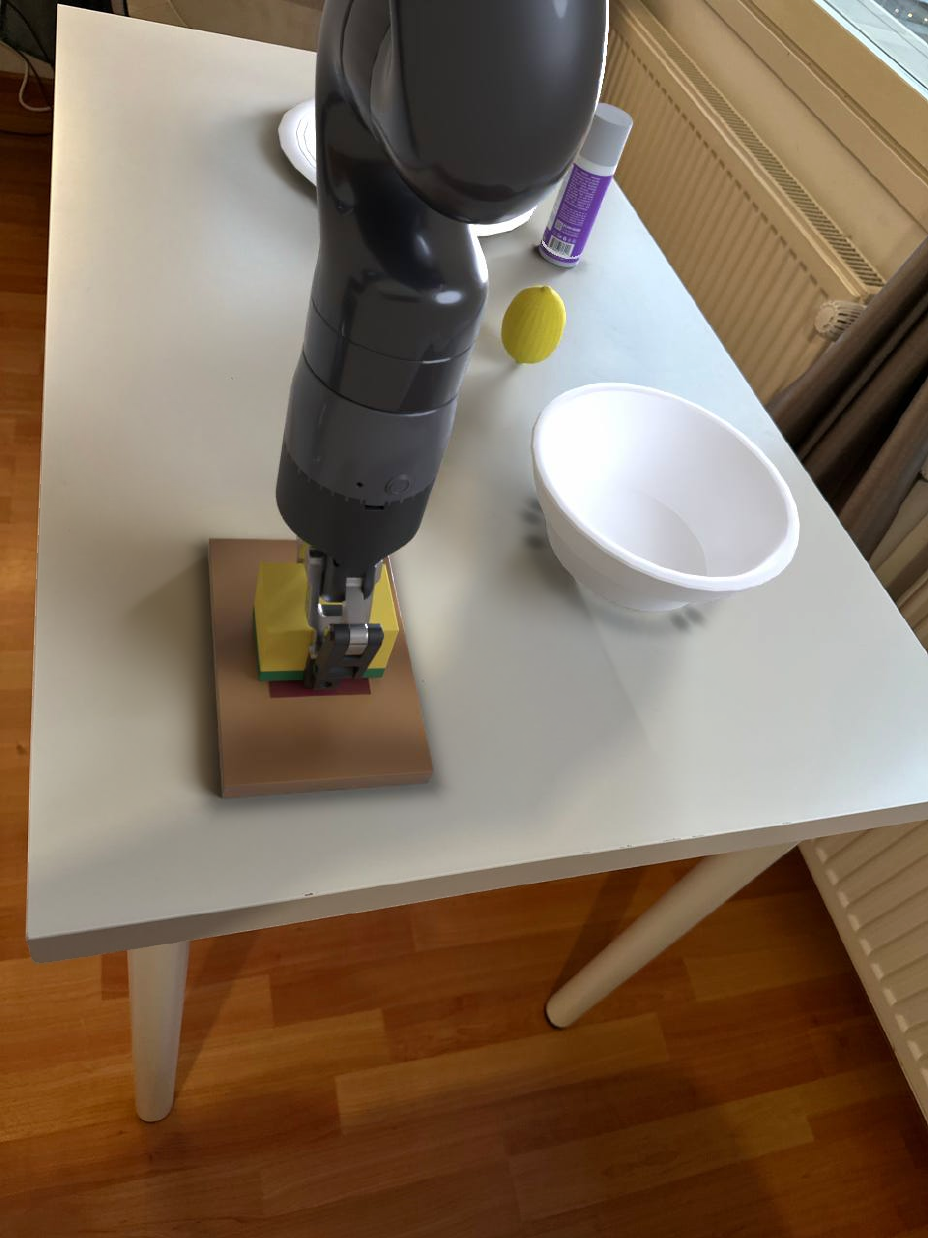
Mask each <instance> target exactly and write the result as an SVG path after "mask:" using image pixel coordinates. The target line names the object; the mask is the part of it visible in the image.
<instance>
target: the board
mask: <svg viewBox="0 0 928 1238" xmlns="http://www.w3.org/2000/svg"><path fill="white" fill-rule="evenodd" d="M390 559H391V558H390V555H389V556H387V557H386V558H384V559H383V564H385V565H386V570H387V575H388V579H389V584H390V589H391V594H392V599H393V604H394V608H395V613H396V618H397V623H398V628H399V631H398V634H397V637H396V639H395V642H394V645H393V648H392V651H391V653H390V656H389V659H388V662H387V665H386V667H385V671H384V674H383V676H382V677H374V678H361V679H352V678H343V679H342V681H341V684H340V685H339V686H338V687H337V689H331V690H312V688H306V687H305V686H304V680H280V681H259V677H258V666H257V656H256V645H255V634H254V623H253V608H254V602H255V595H256V587H257V580H258V573H259V566H260V563H297V542H296V539H269V538H266V539H263V538H262V539H261V538H222V537H221V538H217V537H216V538H215V537H213V538H212V537H210V538H208V545H207V562H208V579H209V596H210V613H211V631H212V649H213V651H212V652H213V665H214V666H213V667H214V680H215V683H214V684H215V698H216V700H215V701H216V717H217V718H216V719H217V720H216V721H217V737H218V751H219V768H220V786H221V787H220V788H221V789H220V790H221V798H222V799H234V798H235V799H236V798H246V797H260V796H274V795H283V794H284V795H286V794H287V795H288V794H301V793H302V794H303V793H314V792H327V791H338V790H339V791H340V790H353V789H354V790H355V789H367V788H381V787H392V786H405V785H406V786H407V785H419V784H428V783H430V781H431V778H432V777H433V775H434V773H435V770H434V769H435V768H434V765H433V759H432V755H431V749H430V745H429V740H428V736H427V731H426V728H425V727H426V726H425V722H424V717H423V712H422V706H421V701H420V697H419V693H418V687H417V684H416V678H415V674H414V669H413V664H412V660H411V655H410V650H409V645H408V640H407V635H406V631H405V626H404V622H403V616H402V611H401V608H400V603H399V598H398V593H397V588H396V583H395V579H394V574H393V570H392V569H393V568H392V564H391V560H390Z"/></svg>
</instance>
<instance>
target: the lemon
mask: <svg viewBox="0 0 928 1238" xmlns="http://www.w3.org/2000/svg"><path fill="white" fill-rule="evenodd" d="M566 313H567V312H566V308H565V304H564V301H563V299H562V298H561V296H560V295H559V294H558V293H557V292H556V291H555V290H554V289H552V287H551V286H550V285H532V286H527V287H525V288H523V289H522V290H521V291H519V292H518V293H516V295H515V296H514V297H513V299H512V300H511V301H510V303H509V304H508V307H507V309H506V310H505V311H504V315H503V317H502V321H501V328H500V336H501V343H502V346H503V348H504V350H505V352H506V353H507V354H508V356H510V357H511V358H512V359H513V360H515V362H516V363H517V364H518V365H524V364H527V365H530V364H531V365H533V364H538V363H540V362H543V361H545V360H546V359H548V358H549V357H550V356H551V355H552V354H553V353H554V352H555V351H556V349H557V348H558V346H559V344H560V343H561V340H562V338H563V335H564V331H565V326H566V319H567V314H566Z"/></svg>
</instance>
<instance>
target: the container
mask: <svg viewBox="0 0 928 1238" xmlns="http://www.w3.org/2000/svg"><path fill="white" fill-rule="evenodd" d="M633 124H634V119H633V118H632V116H631V115H630V114H628V113H627V112H626V111H624V110H623V109H622V108H619V107H617V106H615V105H612V104H609V103H604V102H598V103H597V107H596V110H595V114H594V117H593V120H592V123H591V126H590V129H589V132H588V134H587V137H586V139H585V141H584V143H583V146H582V148H581V150H580V152H579V154H578V156H577V157H576V159H575V161H574V163H573V165H572V166H571V168H570V169H569V171H568V172H567V174H566V175H565V177H564V178H563V179H562V181H561V183H560V187H559V189H558V193H557V196H556V198H555V200H554V204H553V206H552V209H551V212H550V215H549V217H548V221H547V223H546V226H545V229H544V232H543V234H542V237H543V241H544V242H545V244H546V245H547V247H549V248H550V249H552V250H553V251H555V252H556V253H559V254H561V255H564V256H567V257H572V256H573V257H575V256H578V255H580V254H581V253H582V254H583V252H584V250H585V247H586V245H587V242H588V240H589V237H590V235H591V232H592V230H593V227H594V226H595V222H596V219H597V217H598V215H599V213H600V210H601V207H602V205H603V202H604V200H605V198H606V195H607V193H608V190H609V189H610V185H611V183H612V180H613V178H614V175H615V172H616V169H617V168H618V167H617V166H618V165H619V162H620V160H621V156H622V153H623V151H624V149H625V145H626V143H627V140H628V138H629V135H630V132H631V130H632V127H633ZM538 252H539V254H540V255H541V257H542V258H543V259H544V260H546V261H547V262H549V263H551V264H552V265H555V266H559V267H563V268H573V267H576V266H577V265H578V264H579V262H580V260H581V257H582V255H581V256H580V257H579V258H577V259H565V258H562V257H559V256H556V255H554V254H552V253H551V252H549V251H548V250H547V249H546V248H545V247H544V246H543V244H542V239H541V240H540V243H539V246H538Z"/></svg>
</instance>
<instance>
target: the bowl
mask: <svg viewBox="0 0 928 1238" xmlns="http://www.w3.org/2000/svg"><path fill="white" fill-rule="evenodd" d="M530 452H531V453H530V454H531V463H532V471H533V480H534V485H535V492H536V497H537V500H538V503H539V505H540V508H541V509H542V512H543V515H544V517H545V518H546V522H545V523H546V524H545V526H546V532H547V538H548V541H549V543H550V546H551V548H552V550H553V553H554V554H555V556H556V557H557V559H558V560H559V562H560V563H561V565H562V566H563V568H565V570H566V571H567V572H568V573H569V574H570V575H571V576H572V577H573V578H574V580H576V581H578V582H579V583H580V584H581V585H582V586H583V587H585V588H586V589H587V590H589V591H591V592H592V593H593V594H595V595H597V596H599V597H600V598H602V599H604V600H606V601H609V602H611V603H613V604H616V605H618V606H621V607H624V608H627V609H631V610H635V611H642V612H649V613H657V612H658V613H659V612H669V611H674V610H676V609H680V608H683V607H684V606H686V605H688V604H692V603H693V604H694V603H710V602H714V601H719V600H722V599H726V598H729V597H732V596H734V595H737V594H740V593H742V592H745V591H749V590H750V589H753V588H756V587H759V586H761V585H764V584H765V583H766V582H768V581H770V580H772V579H774V578H776V577H777V576H778V575H780V574H781V573H782V572H783V571H784V570H785V568H786V567H788V565H789V564H790V563H791V562H792V561H793V558H794V555H795V553H796V550H797V549H798V545H799V536H800V525H801V524H800V519H799V514H798V508H797V504H796V502H795V500H794V498H793V495H792V493H791V491H790V488H789V486H788V484H787V483H786V481H785V480H784V478H783V476H782V475H781V473H780V472H779V470H778V469H777V467H776V466H775V465H774V463H772V461H771V460H770V459H769V458H768V456H766V455H765V453H764V452H763V451H762V450H761V449H760V448H759V447H758V446H757V445H756V444H754V442H752V441H751V440H750V439H749V438H748V437H747V436H746V435H745V434H744V433H743V432H741V431H740V430H739V429H737V428H735V426H733V425H731V423H729V422H727V421H726V420H724V419H723V418H721V417H720V416H718V415H716V414H714V413H713V412H711V411H709V410H707V409H706V408H704V407H702V406H700V405H698V404H696V403H695V402H692V401H689V400H687V399H686V398H685V399H684V398H682V397H680V396H678V395H675V394H672V393H669V392H665V391H662V390H660V389H656V388H653V387H648V386H643V385H638V384H632V383H623V382H622V383H621V382H620V383H619V382H600V383H599V382H598V383H591V384H584V385H581V386H578V387H575V388H571V389H568V390H566V391H565V392H563V393H561V394H559V395H557V396H556V397H554V398H553V399H552V400H550V401H549V402H548V404H547V405H545V407H544V408H542V410H541V411H540V412H539V414H538V415H537V417H536V420H535V422H534V424H533V427H532V429H531V440H530Z"/></svg>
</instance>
